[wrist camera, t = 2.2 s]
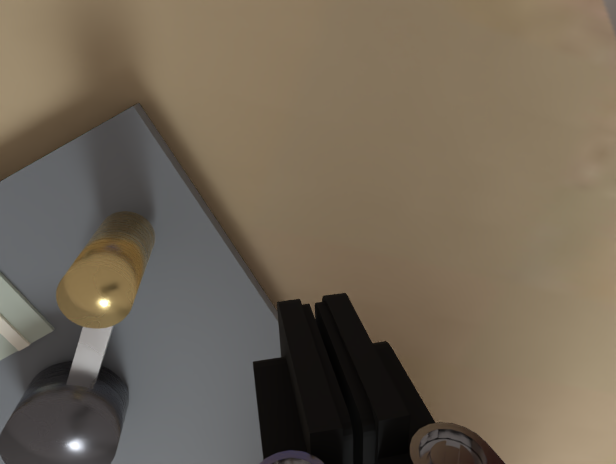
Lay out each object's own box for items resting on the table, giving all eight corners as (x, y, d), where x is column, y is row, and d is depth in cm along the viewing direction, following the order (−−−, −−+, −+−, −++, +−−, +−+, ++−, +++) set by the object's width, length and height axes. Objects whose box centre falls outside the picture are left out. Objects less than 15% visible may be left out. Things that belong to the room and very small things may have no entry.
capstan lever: (115, 443, 25) (84, 559, 19) (16, 428, 23) (-50, 549, 17) (190, 225, 21) (180, 286, 15) (78, 190, 19) (20, 244, 14)
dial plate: (341, 408, 29) (348, 429, 27) (52, 566, 29) (42, 597, 28) (139, 102, 20) (131, 106, 19) (-270, 334, 21) (-314, 359, 19)
